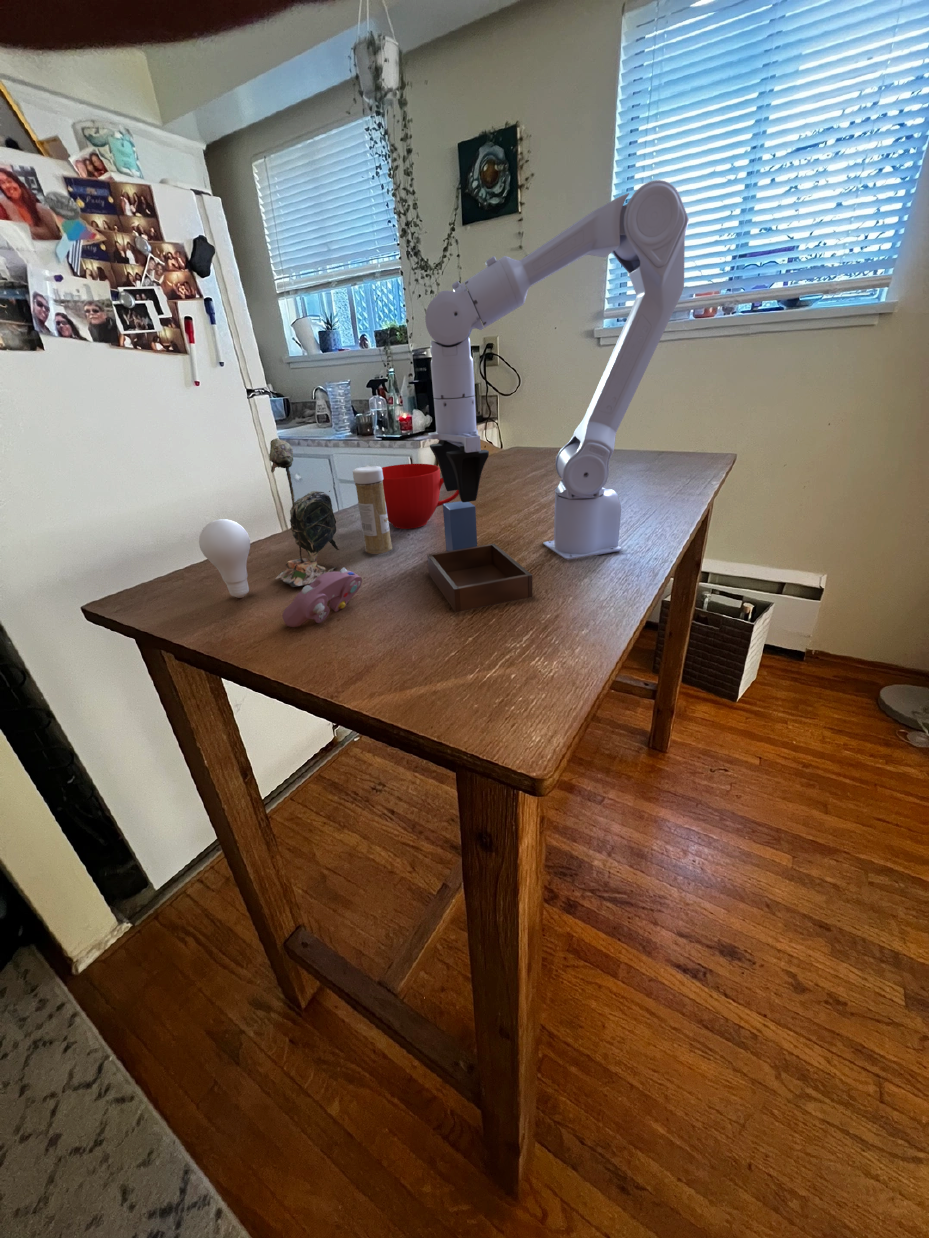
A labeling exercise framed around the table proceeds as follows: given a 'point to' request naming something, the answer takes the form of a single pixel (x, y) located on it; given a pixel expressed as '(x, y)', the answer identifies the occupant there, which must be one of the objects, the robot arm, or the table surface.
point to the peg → (460, 525)
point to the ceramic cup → (412, 493)
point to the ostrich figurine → (305, 523)
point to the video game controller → (322, 597)
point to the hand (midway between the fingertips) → (460, 495)
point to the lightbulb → (227, 553)
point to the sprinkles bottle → (372, 509)
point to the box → (479, 577)
